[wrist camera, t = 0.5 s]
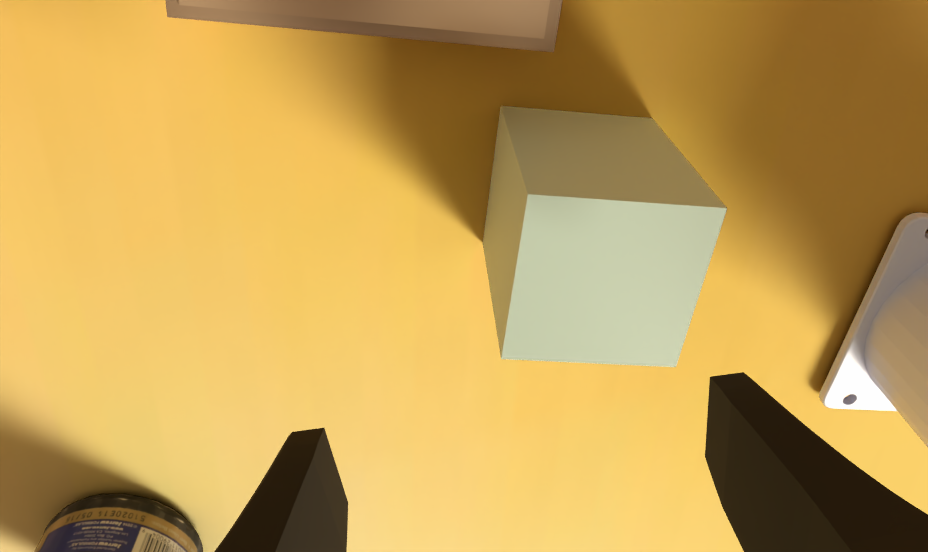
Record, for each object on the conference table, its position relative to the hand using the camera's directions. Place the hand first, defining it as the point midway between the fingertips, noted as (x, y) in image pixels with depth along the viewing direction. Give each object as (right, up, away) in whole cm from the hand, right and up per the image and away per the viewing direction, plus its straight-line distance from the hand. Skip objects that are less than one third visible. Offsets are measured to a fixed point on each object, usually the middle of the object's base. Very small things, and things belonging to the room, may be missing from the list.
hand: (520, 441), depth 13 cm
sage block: (+2, +6, +9) cm, 11 cm away
